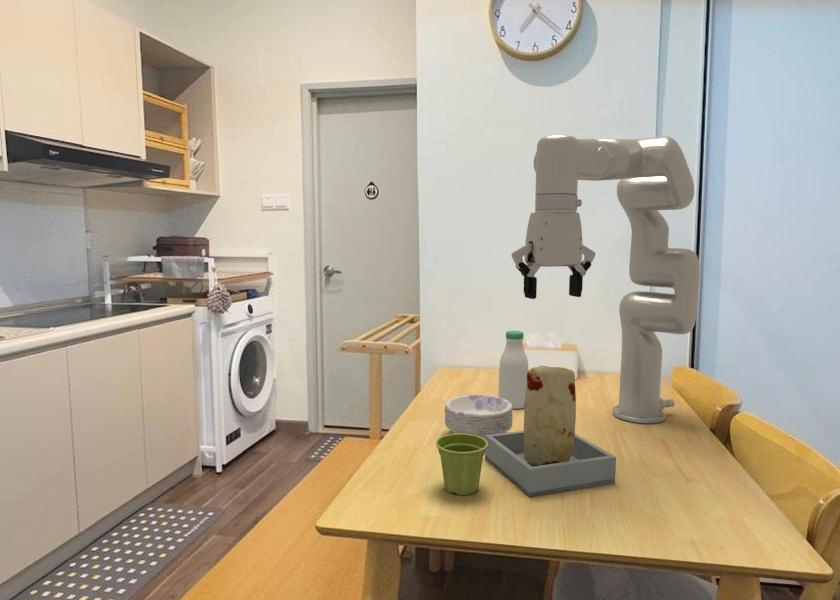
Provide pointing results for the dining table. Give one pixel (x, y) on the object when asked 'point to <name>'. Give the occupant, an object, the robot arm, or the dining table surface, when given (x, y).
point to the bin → (550, 465)
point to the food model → (549, 415)
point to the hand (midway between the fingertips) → (553, 297)
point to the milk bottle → (513, 370)
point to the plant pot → (461, 461)
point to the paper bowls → (478, 415)
